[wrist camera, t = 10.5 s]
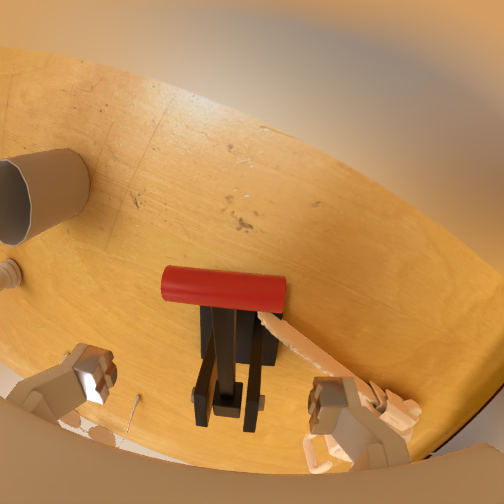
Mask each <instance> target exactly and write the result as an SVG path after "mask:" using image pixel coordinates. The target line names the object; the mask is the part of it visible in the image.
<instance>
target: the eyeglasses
mask: <svg viewBox="0 0 504 504" xmlns="http://www.w3.org/2000/svg"><path fill="white" fill-rule="evenodd" d="M68 356H69V354H68V353H66V354H65V356H64V357H63V359H62V362H61V364H60V365H62V364H63V363H64V361H65V360H66V359H67V357H68ZM138 402H139V396H138V395H136V397H135V400H134V406H133V409H132V412H131V416H130V419H129V423H128V427H127V431H126V434H127V432H128V429H129V425H130V422H131V419H132V416H133V413H134V410H135V408H136V406H137V404H138ZM59 420H61V421H63V422H64V423H65V424H67V425H69V426H71V427H74V428H80V429H81V430H82V431H83V432H87V431H85V430H83V429H82V428H81V427H80V425H81V420H80V415H79V413H78V412H76V411H75V410H74V409H73V410H72V411H71V412H69V413H68V414H66V415H65V416H63V417H62V418H60V419H59ZM87 433H88V435H89V436H90V437H91V438H92V439H93V440H95V441H98V442H101V443H104V444H107V445H110V446H113V447H115V446H116V445H115V444H116V443H115V436H114V435H113V433H112V432H111V431H109V430H107V429H106V428H104V427H101V426H96V427H91V428H90V429H89V432H87ZM125 436H126V435H125ZM124 438H125V437H124ZM123 440H124V439H123ZM120 445H121V444H120ZM120 445H119V446H120ZM119 446H118V447H116V448H119Z"/></svg>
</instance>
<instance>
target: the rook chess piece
mask: <svg viewBox="0 0 504 504" xmlns="http://www.w3.org/2000/svg"><path fill="white" fill-rule="evenodd" d="M21 278H22V275H21V271H20V268H19V266H18V265H17V264H16V262H15V261H13V260H11V259H6V260H5V261H4V262H2V263H1V265H0V291H1V290H3V289H9V288H15V287H16V286H18V285H20V283H21Z"/></svg>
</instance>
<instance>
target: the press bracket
mask: <svg viewBox="0 0 504 504" xmlns="http://www.w3.org/2000/svg"><path fill="white" fill-rule="evenodd" d="M272 314H273V315H275V316H276V317H277V318H279V319H280V320H281V321H282V316H283V312H282V313H272ZM261 322H262V321H261V320H260V319H259V318H258V312H257V311H248V310H238V309H236V363H242V364H250V368H249V378H248V388H247V397H246V407H245V417H244V426H243V432H252V433H254V432H255V428H256V422H257V415H258V411H263V410H264V403H265V395H260V385H261V367H262V365H264V366H275V360H276V354H277V348H278V342H279V339H278V338H276V337H275V336H274V335H272V334H271V332H270V331H269V330H268V329H267V328H266V327H265V325H262V324H261ZM200 327H201V359H203V362H202V365H201V369H200V372H199V376H198V379H197V383H196V386H195V387H193V390H192V394H191V401H192V403H194V409H195V419H196V426H202V427H208V422H209V418H210V413H211V408H212V403H213V396H214V390H215V384H216V380H218V373H217V364H216V354H215V344H214V333H213V322H212V311H211V307H210V306H202V305H200Z"/></svg>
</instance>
